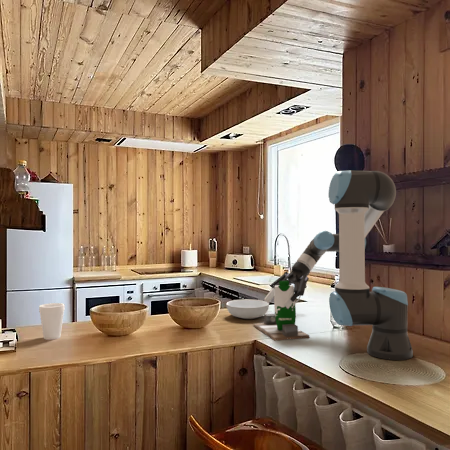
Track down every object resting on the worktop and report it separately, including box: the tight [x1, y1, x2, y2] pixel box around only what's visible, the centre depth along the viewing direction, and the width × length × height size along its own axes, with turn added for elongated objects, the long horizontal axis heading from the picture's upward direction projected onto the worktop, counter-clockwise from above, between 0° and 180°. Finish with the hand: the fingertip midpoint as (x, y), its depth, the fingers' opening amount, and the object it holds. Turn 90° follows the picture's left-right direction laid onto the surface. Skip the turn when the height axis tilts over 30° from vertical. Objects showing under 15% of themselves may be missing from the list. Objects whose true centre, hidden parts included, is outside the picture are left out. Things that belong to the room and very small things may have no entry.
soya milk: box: [273, 281, 297, 330], centre depth 189 cm, size 9×9×20 cm
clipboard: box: [252, 313, 310, 341], centre depth 191 cm, size 25×15×5 cm, turn 16°
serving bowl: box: [225, 298, 270, 320], centre depth 220 cm, size 21×21×7 cm
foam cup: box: [38, 302, 66, 341], centre depth 180 cm, size 10×9×13 cm
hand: (275, 303), depth 190 cm, fingers open, 13 cm apart
